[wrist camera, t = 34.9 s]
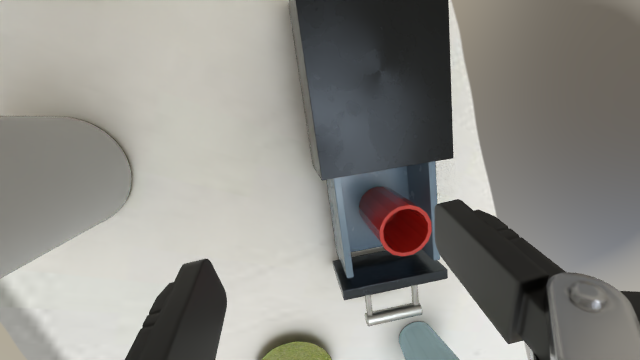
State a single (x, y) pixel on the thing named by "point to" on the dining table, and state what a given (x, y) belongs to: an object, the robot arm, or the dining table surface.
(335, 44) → the black drawer casing
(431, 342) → the cup
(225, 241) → the dining table surface
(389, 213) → the red tumbler
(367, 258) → the dish drawer
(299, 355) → the mat
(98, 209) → the cylinder vase
